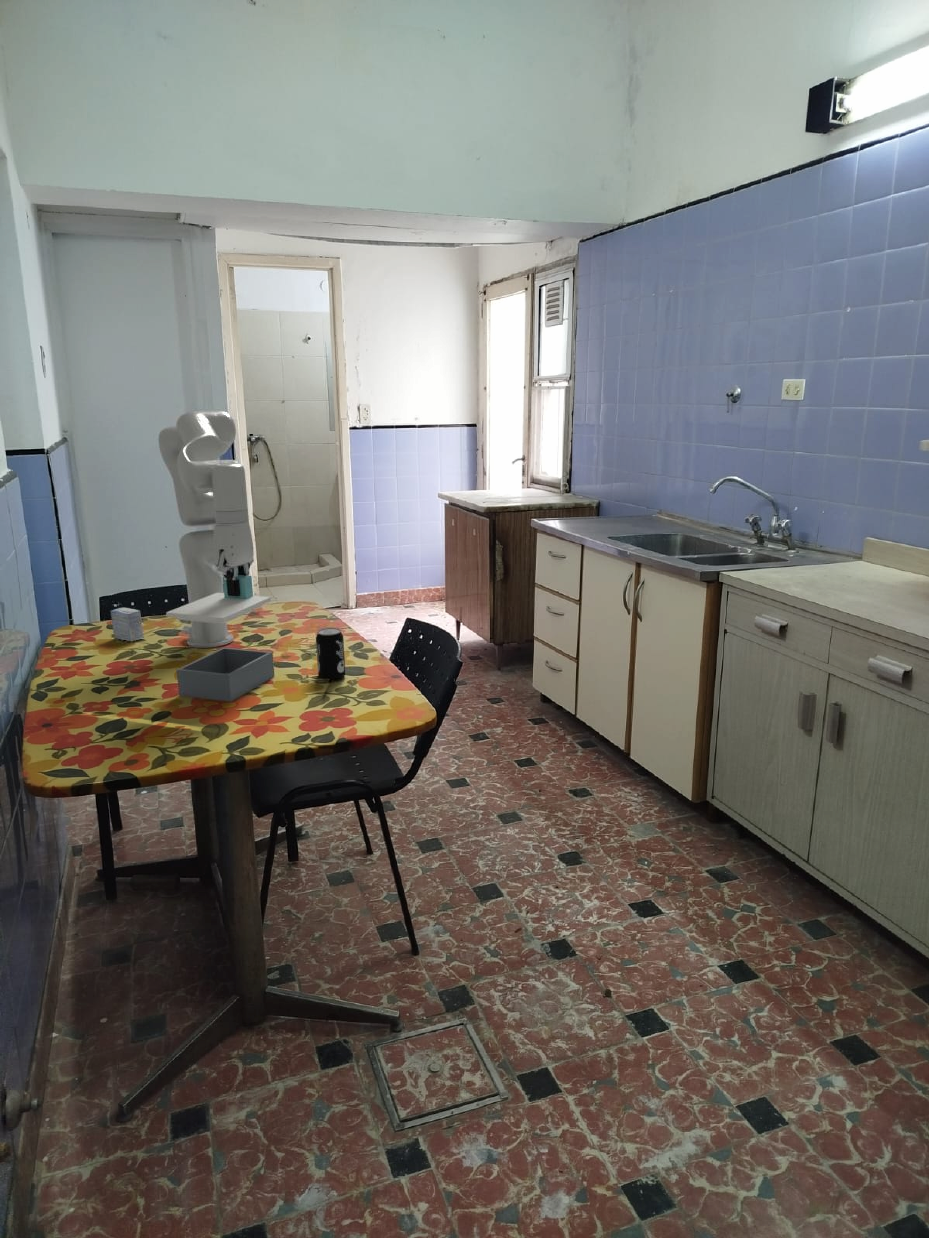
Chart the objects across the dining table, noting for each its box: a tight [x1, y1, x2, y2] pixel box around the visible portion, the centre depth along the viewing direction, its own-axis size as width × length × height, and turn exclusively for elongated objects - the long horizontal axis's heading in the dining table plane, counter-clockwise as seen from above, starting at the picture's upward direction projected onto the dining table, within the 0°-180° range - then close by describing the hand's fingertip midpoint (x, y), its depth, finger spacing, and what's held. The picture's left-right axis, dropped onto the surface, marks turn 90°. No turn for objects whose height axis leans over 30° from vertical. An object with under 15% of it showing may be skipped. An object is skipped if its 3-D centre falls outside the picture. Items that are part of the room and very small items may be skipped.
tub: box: [175, 646, 276, 703], centre depth 193 cm, size 14×18×7 cm
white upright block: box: [110, 607, 145, 642], centre depth 235 cm, size 8×4×9 cm, turn 58°
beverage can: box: [315, 627, 346, 682], centre depth 198 cm, size 7×7×12 cm
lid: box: [165, 575, 272, 624], centre depth 188 cm, size 15×19×7 cm
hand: (238, 593), depth 195 cm, fingers closed on lid, 3 cm apart
